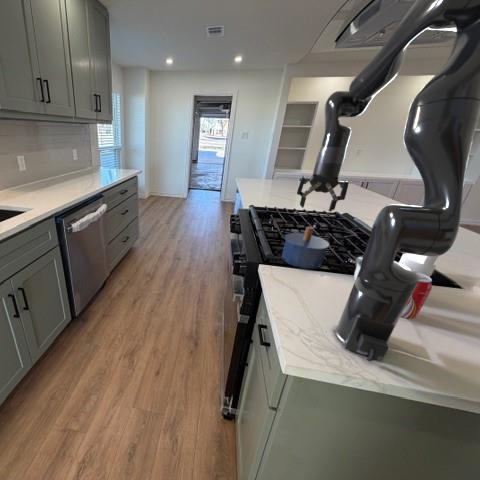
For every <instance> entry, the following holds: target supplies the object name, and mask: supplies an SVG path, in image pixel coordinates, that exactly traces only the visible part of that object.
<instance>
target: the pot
mask: <svg viewBox="0 0 480 480" xmlns="http://www.w3.org/2000/svg"><path fill="white" fill-rule="evenodd" d="M327 250H328V248H327V249H324V250H312V249H306V248H302V247H298V246H295V245H293V244H291V243H289V242H288V241H286V240H284V245H283V249H282V253H281V259H282V261H284V262H285V263H287V264H288V265H290V266H293V267H296V268H300V269H303V270H304V269H305V270H319V268H321V267H322V265H323V262H324V259H325V256H326V254H327V253H326V252H327ZM283 258H284V259H285V260H284V259H283Z"/></svg>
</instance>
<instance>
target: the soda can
mask: <svg viewBox="0 0 480 480" xmlns="http://www.w3.org/2000/svg"><path fill="white" fill-rule="evenodd" d="M414 272H415V271H414ZM415 273H416V274H417V275H418V277H419V281H418V284H417V286H416V287H415V289H414V291H413V293H412V295H411V297H410V299H409V301H408V303H407V305H406V307H405V309H404V311H403V313H402V315H401V316H400V318H403V319H410V320H411V319H415V318H416V317H417V316H418V315H419V313H420V311H421V310H422V309H423V306H424V305H425V303H426V301H427V299H428V297H429V295H430V293H431V291H432V288H433V285H432V282H433V279H432V278H431V277H428V276H426V275H424V274H422V273H418V272H415Z"/></svg>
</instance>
